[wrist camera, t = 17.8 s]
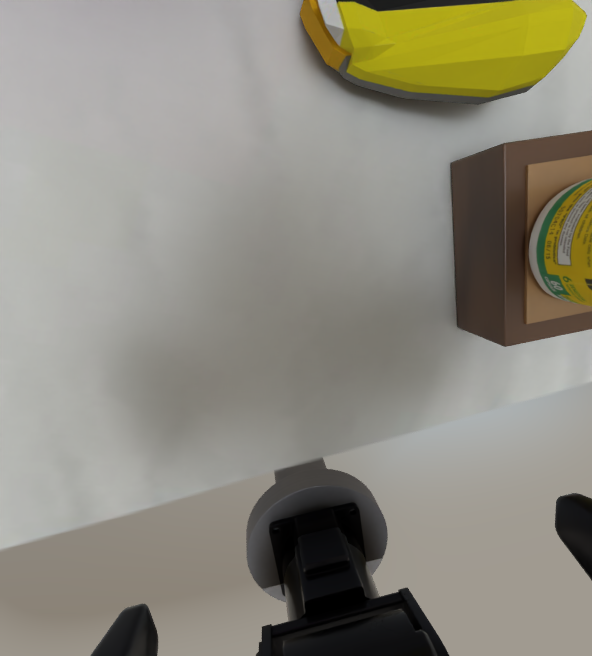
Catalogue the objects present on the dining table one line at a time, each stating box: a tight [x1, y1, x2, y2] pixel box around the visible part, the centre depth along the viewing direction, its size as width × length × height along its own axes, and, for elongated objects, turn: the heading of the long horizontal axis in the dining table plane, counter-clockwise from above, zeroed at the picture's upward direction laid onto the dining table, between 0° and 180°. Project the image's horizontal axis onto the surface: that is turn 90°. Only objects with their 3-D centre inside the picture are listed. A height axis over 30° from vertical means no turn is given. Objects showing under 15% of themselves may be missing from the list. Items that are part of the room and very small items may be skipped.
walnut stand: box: [451, 130, 592, 347], centre depth 18 cm, size 9×7×4 cm
